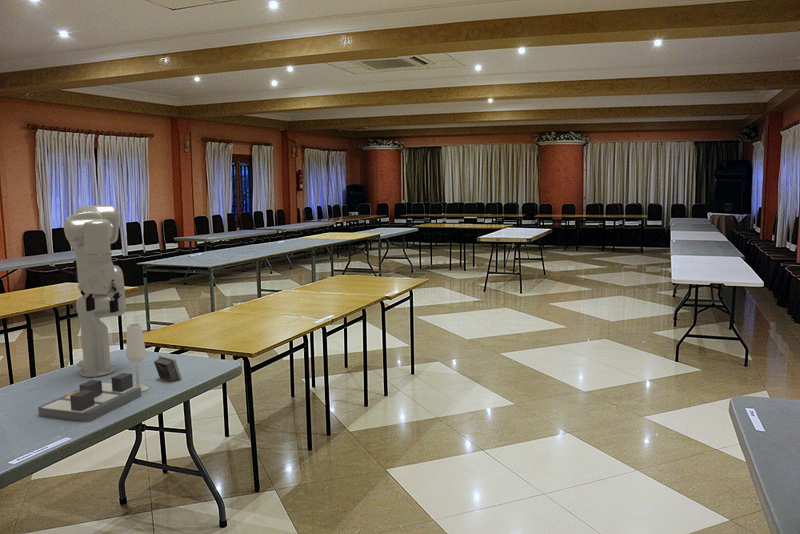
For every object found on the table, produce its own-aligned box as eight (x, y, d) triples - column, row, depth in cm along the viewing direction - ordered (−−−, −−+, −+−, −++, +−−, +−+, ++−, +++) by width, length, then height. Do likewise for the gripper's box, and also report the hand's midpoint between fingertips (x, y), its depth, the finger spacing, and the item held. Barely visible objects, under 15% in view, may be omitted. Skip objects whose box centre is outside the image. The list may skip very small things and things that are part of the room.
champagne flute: (129, 393, 214) (124, 328, 211) (128, 387, 220) (123, 324, 217) (149, 390, 217) (145, 326, 214) (147, 384, 223) (143, 322, 220)
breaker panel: (37, 416, 193) (35, 392, 192) (95, 390, 217) (94, 369, 216) (88, 422, 188) (86, 398, 187) (142, 395, 212) (140, 373, 211)
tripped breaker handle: (80, 397, 200) (79, 384, 199) (92, 392, 205) (91, 379, 205) (90, 398, 199) (89, 385, 198) (102, 393, 204) (101, 380, 204)
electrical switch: (182, 379, 229) (178, 356, 227) (170, 384, 225) (167, 361, 223) (167, 375, 234) (163, 353, 232) (155, 380, 230) (151, 357, 228)
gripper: (67, 259, 191) (71, 312, 194) (112, 261, 187) (116, 315, 189) (85, 256, 198) (89, 307, 201) (129, 258, 194) (132, 310, 196)
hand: (102, 311), depth 195 cm, fingers open, 8 cm apart
